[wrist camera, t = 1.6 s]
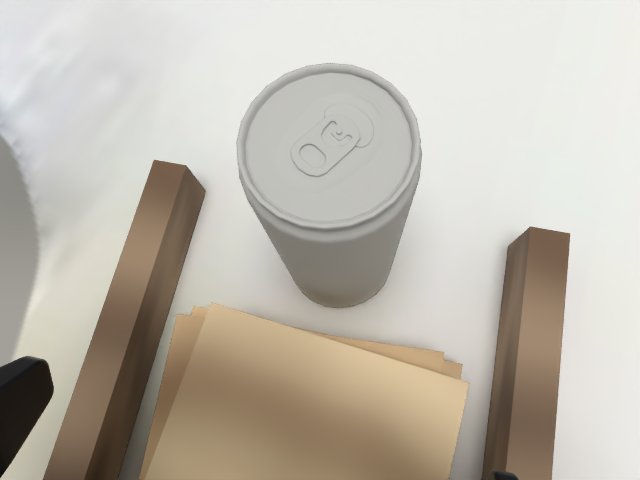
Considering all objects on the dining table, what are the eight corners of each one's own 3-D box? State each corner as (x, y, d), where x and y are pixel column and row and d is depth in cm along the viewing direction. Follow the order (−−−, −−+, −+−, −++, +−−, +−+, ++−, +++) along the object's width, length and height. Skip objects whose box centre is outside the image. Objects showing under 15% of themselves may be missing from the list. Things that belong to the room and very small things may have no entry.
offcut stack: (426, 577, 19) (447, 633, 15) (148, 500, 20) (94, 531, 16) (455, 361, 21) (481, 356, 17) (204, 306, 23) (169, 289, 19)
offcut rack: (501, 696, 18) (556, 811, 13) (54, 561, 20) (-40, 616, 15) (542, 252, 22) (593, 217, 18) (177, 185, 25) (135, 138, 20)
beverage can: (411, 262, 23) (469, 138, 11) (339, 332, 22) (324, 276, 11) (341, 196, 24) (330, 26, 13) (271, 261, 23) (191, 142, 12)
